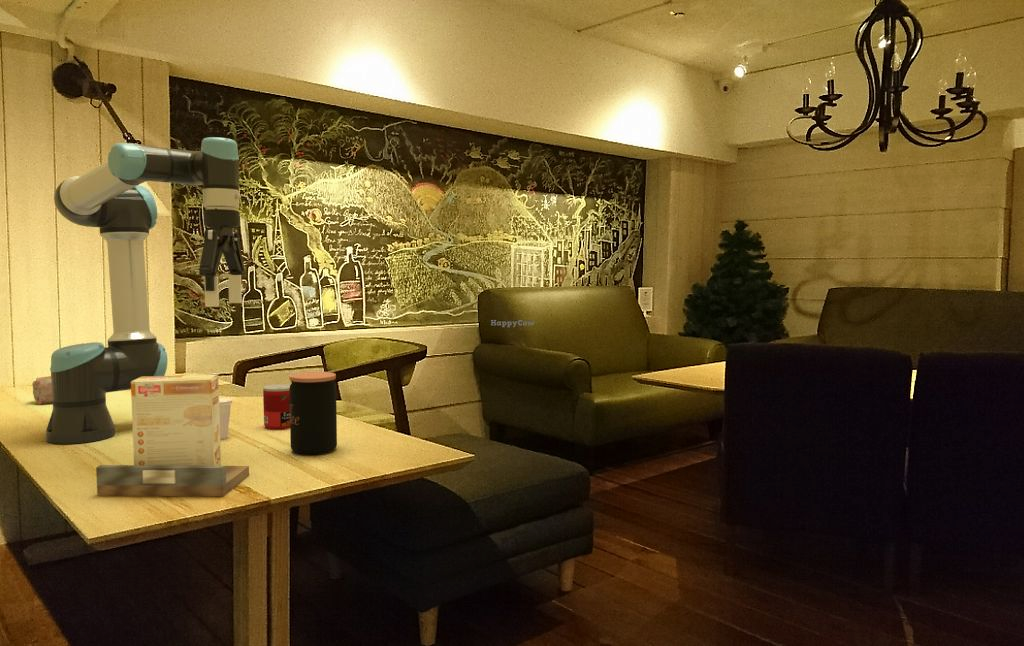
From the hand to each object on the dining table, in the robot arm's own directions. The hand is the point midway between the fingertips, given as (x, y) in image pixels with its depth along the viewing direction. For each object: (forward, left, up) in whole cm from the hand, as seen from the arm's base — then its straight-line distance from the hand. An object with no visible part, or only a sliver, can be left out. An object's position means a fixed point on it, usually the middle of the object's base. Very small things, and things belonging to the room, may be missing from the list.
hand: (224, 304), depth 169 cm
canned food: (+2, +31, -35) cm, 47 cm away
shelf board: (-2, -22, -35) cm, 41 cm away
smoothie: (-9, +18, -35) cm, 40 cm away
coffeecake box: (-2, -21, -33) cm, 39 cm away
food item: (-78, +65, -35) cm, 108 cm away
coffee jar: (+18, +6, -35) cm, 40 cm away
